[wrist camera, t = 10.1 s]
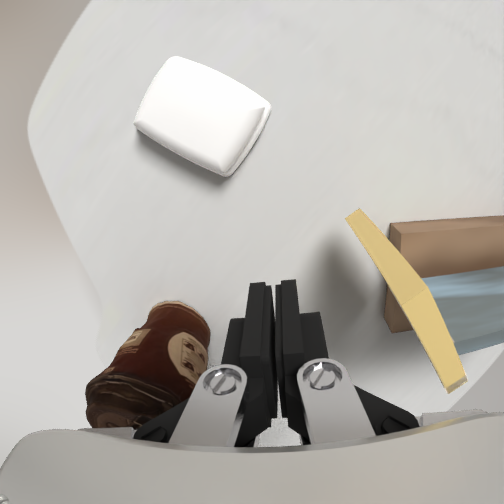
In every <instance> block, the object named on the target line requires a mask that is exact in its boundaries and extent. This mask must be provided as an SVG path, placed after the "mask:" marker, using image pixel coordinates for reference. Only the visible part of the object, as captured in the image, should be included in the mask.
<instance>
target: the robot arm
mask: <svg viewBox="0 0 504 504" xmlns="http://www.w3.org/2000/svg"><path fill="white" fill-rule="evenodd" d="M278 385H279V394H280V403H281V412H282V418H288V427H290V428H291V429H293V430H294V431H296V432H297V433H298V434H300V443H301V445H299V446H283V447H258V444H259V434H260V433H262V432H263V431H264V430H266V429H267V428H268V427H271V418H277V402H278ZM0 504H504V412H503V413H502V412H492V413H487V412H485V411H483V410H477V409H473V410H464V411H452V412H437V413H422V416H421V417H415V416H414V415H412V414H411V413H409V412H408V411H406V410H404V409H401V408H399V407H397V406H395V405H393V404H391V403H389V402H387V401H385V400H383V399H381V398H379V397H377V396H374V395H372V394H370V393H368V392H366V391H364V390H362V389H360V388H358V387H356V386H355V385H353V383H352V380H351V378H350V376H349V374H348V372H347V370H346V368H345V367H344V365H342V364H341V363H340V362H338V361H335V360H333V359H329V357H328V352H327V347H326V341H325V336H324V331H323V326H322V321H321V316H320V312H314V313H303V314H300V313H299V304H298V295H297V286H296V279H295V280H283V281H281V285H276V312H275V316H274V306H273V297H272V288H271V285H270V286H266V284H265V282H259V283H250V287H249V294H248V301H247V308H246V315H245V318H234V319H231V320H230V323H229V328H228V333H227V338H226V343H225V347H224V352H223V357H222V362H221V365H217V366H214V367H212V368H209V369H208V370H206V371H205V372H204V373H203V374H202V375H201V376H200V378H199V380H198V382H197V384H196V386H195V388H194V390H193V392H192V394H191V397H190V398H188V399H186V400H185V401H183V402H181V403H180V404H178V405H176V406H175V407H173V408H171V409H169V410H168V411H166V412H164V413H163V414H161V415H159V416H157V417H155V418H154V419H152V420H150V421H148V422H147V423H145V424H143V425H142V426H141V427H139V428H138V429H137V430H134V429H133V428H132V427H120V428H84V429H78V430H69V429H52V430H43V431H37V432H34V433H31V434H28V435H27V436H25V437H23V438H22V439H21V440H20V441H19V442H18V443H17V444H16V445H15V447H14V448H13V449H12V451H11V452H10V454H9V455H8V457H7V458H6V460H5V461H4V463H3V465H2V466H1V468H0Z"/></svg>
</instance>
